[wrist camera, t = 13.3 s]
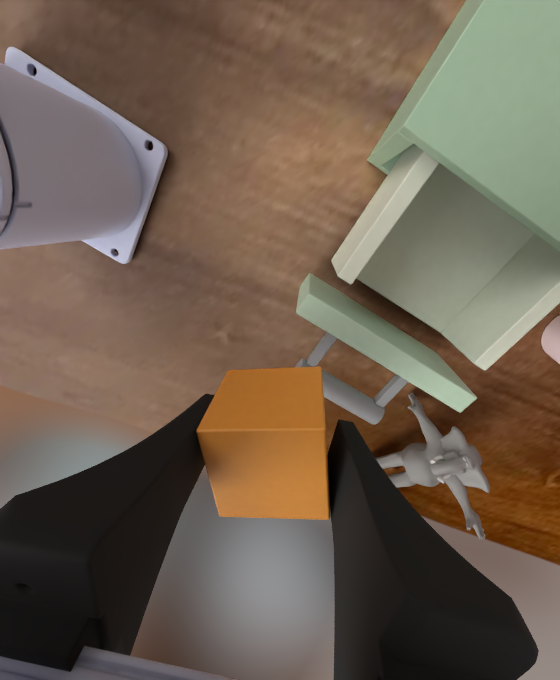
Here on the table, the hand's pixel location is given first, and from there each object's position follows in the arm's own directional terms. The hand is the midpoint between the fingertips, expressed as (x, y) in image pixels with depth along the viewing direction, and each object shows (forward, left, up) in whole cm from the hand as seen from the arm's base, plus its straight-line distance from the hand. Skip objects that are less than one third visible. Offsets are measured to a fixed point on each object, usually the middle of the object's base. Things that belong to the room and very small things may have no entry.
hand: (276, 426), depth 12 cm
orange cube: (0, 0, -1) cm, 1 cm away
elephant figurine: (+14, -3, -10) cm, 17 cm away
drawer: (+4, +8, -9) cm, 12 cm away
